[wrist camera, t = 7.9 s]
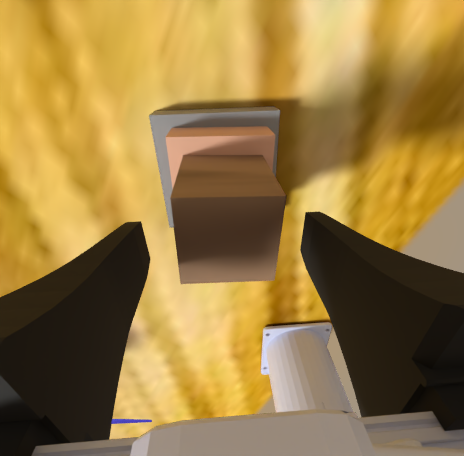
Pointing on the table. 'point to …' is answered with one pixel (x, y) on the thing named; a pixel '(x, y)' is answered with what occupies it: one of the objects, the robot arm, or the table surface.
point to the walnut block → (226, 218)
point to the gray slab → (205, 118)
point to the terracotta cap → (218, 143)
